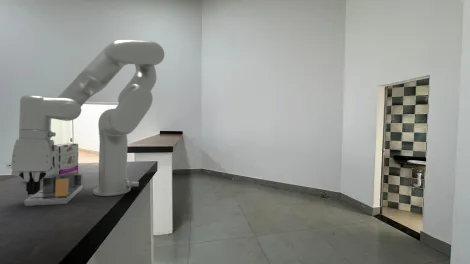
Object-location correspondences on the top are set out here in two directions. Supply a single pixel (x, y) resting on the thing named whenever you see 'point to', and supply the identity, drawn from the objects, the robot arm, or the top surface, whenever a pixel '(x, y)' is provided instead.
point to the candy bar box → (66, 158)
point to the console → (49, 190)
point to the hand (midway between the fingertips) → (33, 193)
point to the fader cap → (62, 187)
